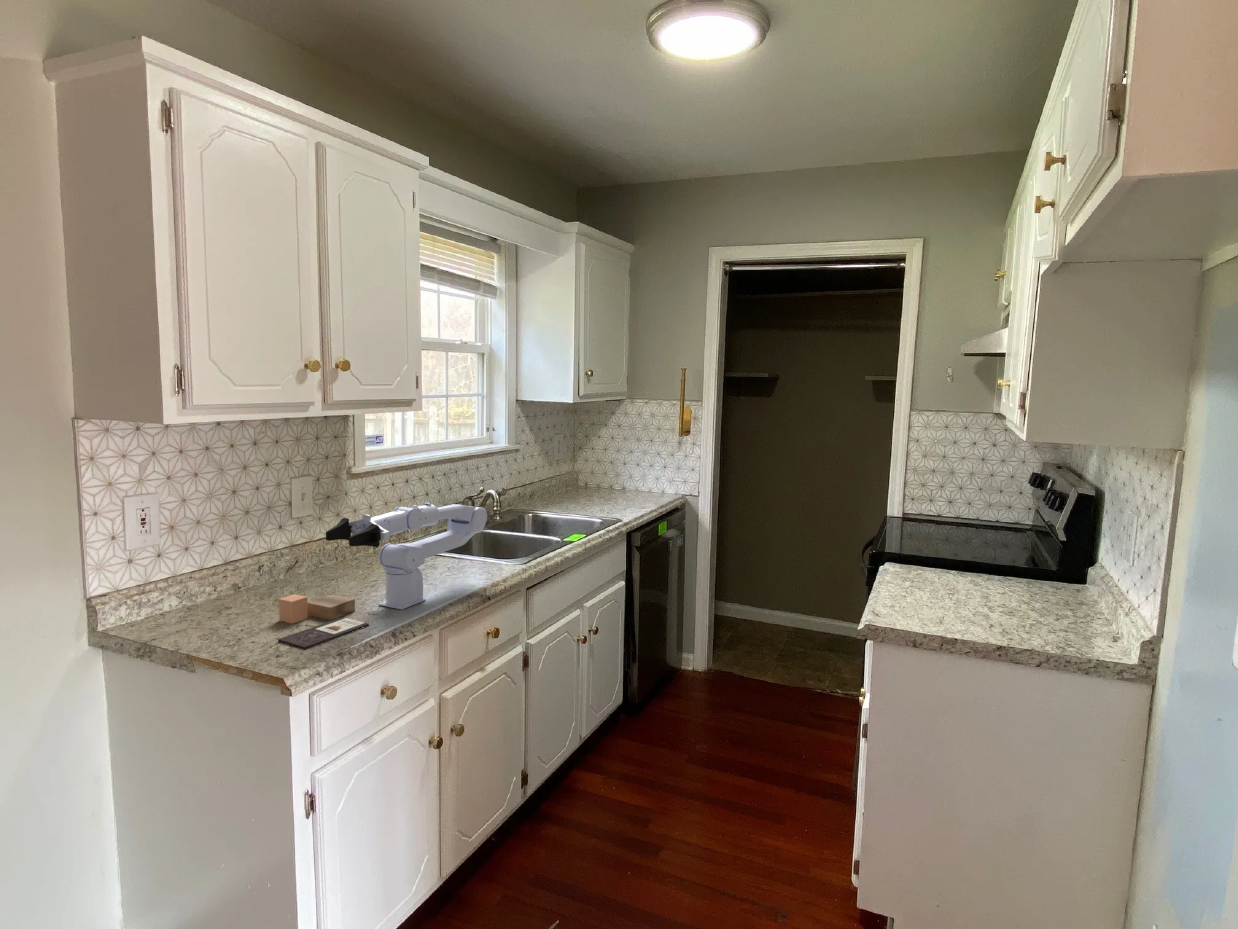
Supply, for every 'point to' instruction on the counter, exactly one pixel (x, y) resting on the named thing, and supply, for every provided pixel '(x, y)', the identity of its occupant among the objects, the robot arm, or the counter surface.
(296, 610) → the terracotta block
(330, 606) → the walnut base block
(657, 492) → the counter surface
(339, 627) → the chocolate bar
